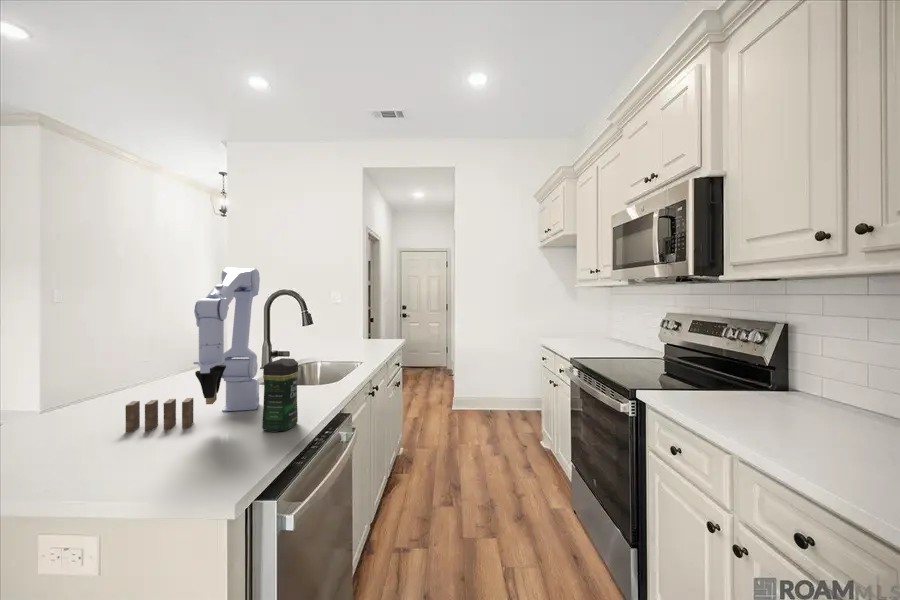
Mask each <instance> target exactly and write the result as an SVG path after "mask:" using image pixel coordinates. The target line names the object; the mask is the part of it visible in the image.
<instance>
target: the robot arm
mask: <svg viewBox="0 0 900 600" xmlns="http://www.w3.org/2000/svg"><path fill="white" fill-rule="evenodd" d="M220 279H221V284H215V286H214V287H213V288H212V289H211V291H209V293H208V294H207V295H206V297H205V298H203V297H202V298H200V299H199V300H196V302H195V305H194V310H193V311H194V317H195V320H196V321H195V322H196V323H195V324H196V327H198V360H194V361H193V365H197V366H199V370H196V371H195V372H194V373H195V374H194V375H195V376H196V379H197V380H198V381H199V384H200V387H201V390H202V395H203V398H204V399H206V398H213V397H214V395H215V390H216V384H217V394H218V393H219V390H220V386H221V381H222V379H223V382H225V406H224V407H223V408H222V410H221V412H223V413H224V412H238V411H248V410H249V411H253V410H257V409H258V406H259V405H260V381H259V379H258V378H255V377H256V376H257V373H258V356H257V355H258V354H256V353H255V352H254V351H253V350H252V349H250V348H249V343H250V330H251V329H250V327H251V317H252V316H251V315H252V306H253V299H254V297H256V296H258V295H259V291H260V281H261V280H260V279H261V278H260V272H259V270H258V269H257V267H254V268H249V267H248V268H246V267H245V268H243V267H241V268H240V267H224V269H223V270H222V272H221V277H220ZM234 299H235V304H234V316H233V327H232V336H231V347H230V349H228V350H226V351H225V349H224V348H225V345H224V343H225V341H224V338H225V336H224V334H225V333H224V328H225V326H224V325H225V323H224V322H225V320H226V319H227V315H228V312H229V305H230V304H231V302H232V301H233V300H234ZM224 351H225V352H224Z"/></svg>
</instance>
